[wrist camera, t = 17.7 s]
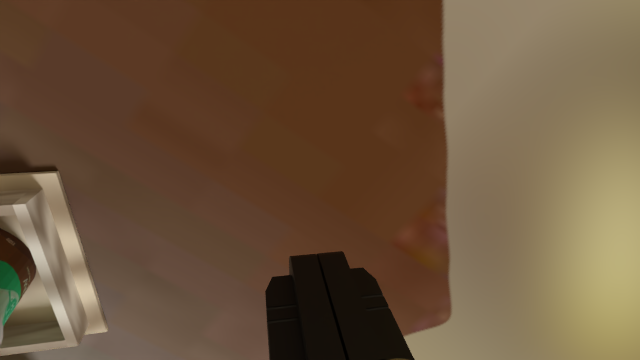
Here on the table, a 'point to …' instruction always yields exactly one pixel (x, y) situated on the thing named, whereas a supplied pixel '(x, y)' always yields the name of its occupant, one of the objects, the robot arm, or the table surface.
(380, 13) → the table surface
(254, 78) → the table surface
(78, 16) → the table surface
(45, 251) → the holder
